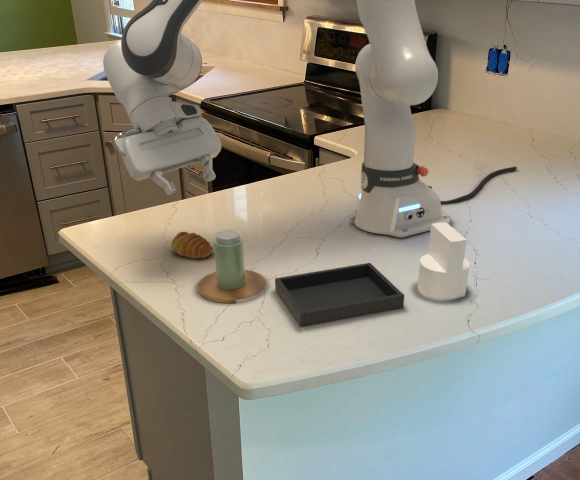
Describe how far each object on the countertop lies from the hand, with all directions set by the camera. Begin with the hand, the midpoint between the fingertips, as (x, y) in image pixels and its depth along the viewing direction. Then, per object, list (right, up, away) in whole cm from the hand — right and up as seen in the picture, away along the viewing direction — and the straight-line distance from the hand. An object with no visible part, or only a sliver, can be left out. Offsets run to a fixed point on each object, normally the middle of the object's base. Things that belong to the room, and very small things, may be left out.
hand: (192, 186), depth 120 cm
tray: (+28, -23, -5) cm, 36 cm away
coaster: (+8, -19, +1) cm, 21 cm away
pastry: (-2, -11, +16) cm, 19 cm away
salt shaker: (+7, -19, +1) cm, 20 cm away
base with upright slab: (+48, -21, -2) cm, 52 cm away
